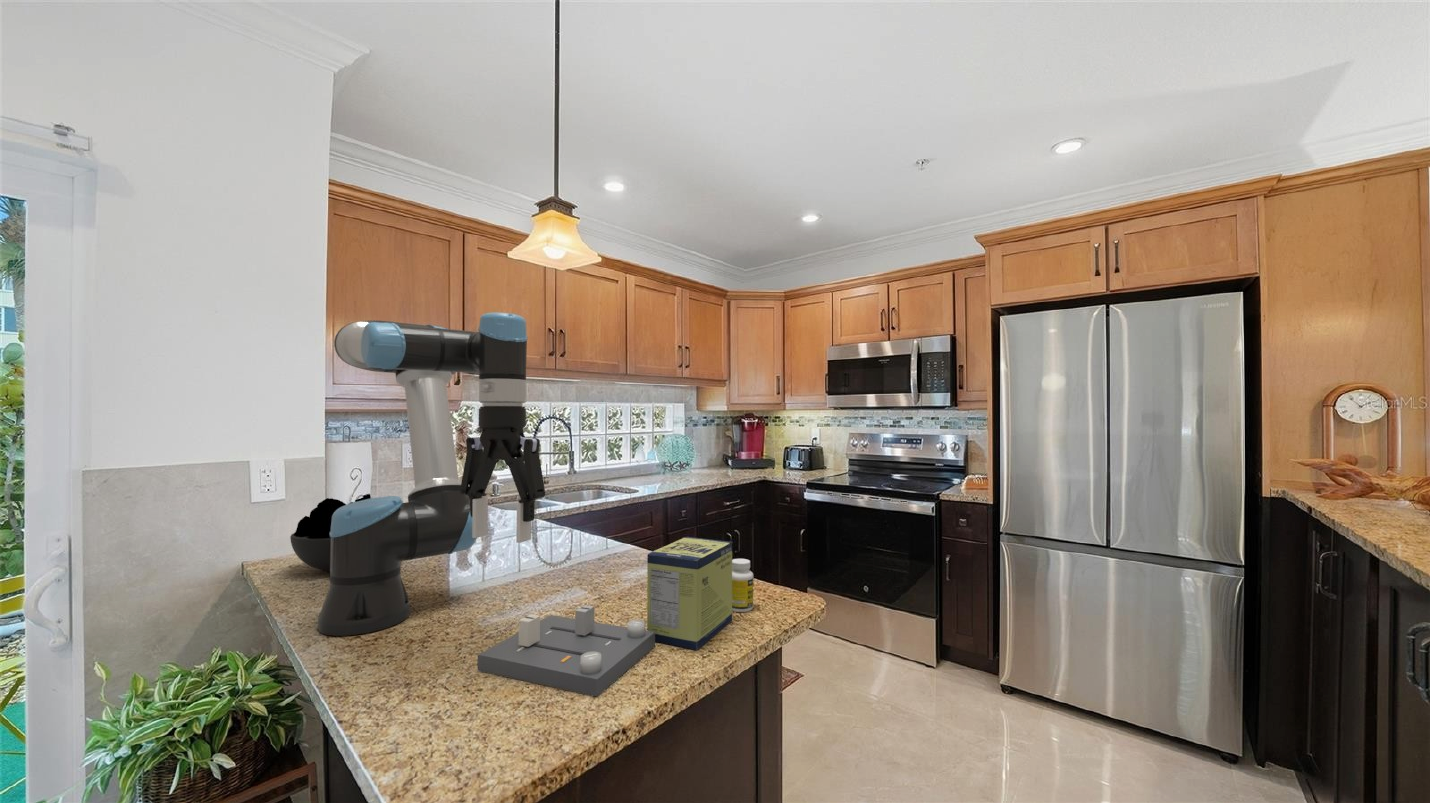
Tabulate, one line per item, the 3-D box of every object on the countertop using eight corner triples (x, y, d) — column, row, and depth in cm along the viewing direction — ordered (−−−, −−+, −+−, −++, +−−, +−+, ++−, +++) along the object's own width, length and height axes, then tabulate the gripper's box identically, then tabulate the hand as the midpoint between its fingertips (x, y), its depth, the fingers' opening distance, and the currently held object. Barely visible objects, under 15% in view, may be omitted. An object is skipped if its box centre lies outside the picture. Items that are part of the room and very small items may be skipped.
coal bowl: (282, 585, 127) (284, 505, 128) (296, 565, 145) (297, 494, 145) (382, 573, 137) (383, 498, 138) (384, 555, 155) (385, 489, 155)
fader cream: (518, 644, 89) (518, 619, 89) (530, 638, 91) (530, 613, 91) (528, 646, 88) (528, 621, 88) (539, 639, 91) (540, 615, 91)
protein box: (733, 620, 107) (733, 540, 107) (697, 651, 93) (697, 560, 93) (686, 611, 111) (686, 535, 112) (645, 640, 97) (645, 553, 97)
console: (477, 670, 86) (477, 641, 86) (550, 628, 103) (550, 603, 103) (597, 696, 78) (597, 664, 78) (655, 646, 95) (655, 619, 95)
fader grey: (575, 633, 93) (575, 609, 93) (584, 627, 96) (584, 604, 96) (585, 635, 92) (585, 611, 92) (594, 629, 95) (594, 605, 95)
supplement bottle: (751, 613, 110) (751, 565, 110) (725, 611, 111) (725, 563, 111) (754, 604, 115) (754, 558, 116) (729, 602, 116) (729, 556, 117)
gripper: (437, 405, 93) (435, 537, 92) (539, 404, 85) (538, 549, 85) (471, 405, 100) (469, 529, 99) (568, 405, 92) (568, 538, 92)
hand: (501, 538), depth 92 cm, fingers open, 9 cm apart
